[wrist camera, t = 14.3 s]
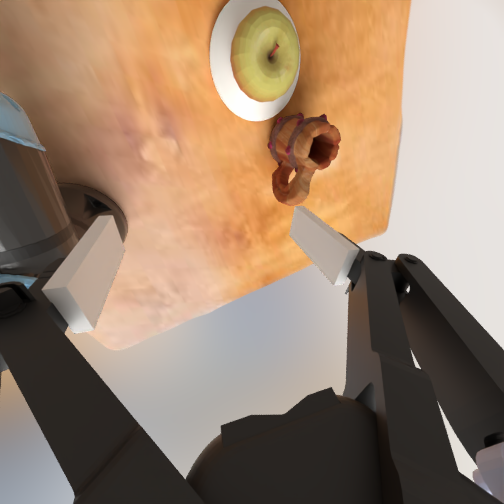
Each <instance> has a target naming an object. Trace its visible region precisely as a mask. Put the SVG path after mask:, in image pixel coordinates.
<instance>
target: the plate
mask: <svg viewBox="0 0 504 504" xmlns="http://www.w3.org/2000/svg"><path fill="white" fill-rule="evenodd" d="M263 6H268V7H272V8H275V9H278V10H279V11H281V12H282V13H283V14H284V15H285V16H286V17H287V18H288V19H289V20H290V21H291V23H292V25H293V27H294V29H295V32H296V34H297V31H296V28H295V26H294V23H293V21H292V19H291V17H290V15H289V13H288V12H287V10H286V9H285V7H284V6H283V5H282V4H281V3H280V2H279V1H278V0H230V1H229V2H228V3H227V4H226V5H225V6H224V8H223V9H222V11H221V12H220V14H219V16H218V18H217V20H216V23H215V25H214V28H213V31H212V36H211V41H210V54H209V59H210V69H211V74H212V78H213V82H214V85H215V87H216V90H217V92H218V94H219V96H220V98H221V99H222V101H223V102H224V104H225V105H226V106H227V107H228V108H229V109H230V110H231V111H232V112H233V113H234V114H236V115H237V116H239V117H241V118H243V119H246V120H249V121H263V120H267V119H269V118H271V117H273V116H275V115H276V114H278V113H279V112H280V111H281V110H282V109H283V108H284V107H285V106H286V104H287V103H288V101H289V100H290V98H291V96H292V94H293V92H294V90H295V87H296V84H297V80H298V76H299V70H300V54H299V66H298V70H297V73H296V76H295V79H294V82H293V84H292V85H291V87H290V88H289V89H288V91H287V92H286V93H285V94H284V95H282V96H281V97H279V98H278V99H276V100H274V101H270V102H258V101H255V100H253V99H250V98H249V97H248V96H247V95H245V94H244V93H243V92H242V91H241V90H240V88H239V86H238V84H237V82H236V80H235V78H234V76H233V72H232V67H231V62H230V56H231V43H232V40H233V38H234V35H235V32H236V30H237V27H238V25H239V23H240V22H241V21H242V20H243V19H244V18H245V17H246V16H247V15H248V14H249V13H250V12H251V10H253V9H256V8H260V7H263ZM297 37H298V35H297ZM298 43H299V39H298ZM299 49H300V46H299Z"/></svg>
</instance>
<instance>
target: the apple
mask: <svg viewBox="0 0 504 504" xmlns="http://www.w3.org/2000/svg"><path fill="white" fill-rule="evenodd" d="M299 54H300V49H299V43H298V37H297V34H296V32H295V29H294V27H293V25H292V23H291V21H290V20H289V19H288V18H287V17H286V16H285V15H284V14H283V13H282V12H281V11H279V10H278V9H275V8H272V7H268V6H263V7H260V8H256V9H253V10H251V12H250V13H249V14H248V15H247V16H246V17H245V18H244V19H243V20H242V21H241V22H240V23H239V25H238V27H237V30H236V32H235V35H234V38H233V40H232V43H231V56H230V62H231V67H232V72H233V76H234V78H235V80H236V82H237V84H238V86H239V88H240V90H241V91H242V92H243V93H244V94H245V95H247V96H248V97H249V98H250V99H253V100H255V101H258V102H270V101H274V100H276V99H278V98H279V97H281V96H282V95H284V94H285V93H286V92H287V91H288V89H289V88H290V87H291V85H292V84H293V82H294V79H295V76H296V73H297V70H298V66H299Z"/></svg>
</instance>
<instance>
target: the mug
mask: <svg viewBox="0 0 504 504" xmlns="http://www.w3.org/2000/svg"><path fill="white" fill-rule="evenodd" d="M340 141H341V137H340V133H339V131H338V129H337V128H336V127H335V126H334V125H330V123H329V122H328V121H327V116H326V115H325V114H323V115H321V116H320V117H310V118H306V119H304V116H303V114H302V113H299V114H298V115H293V116H287V117H285V118H282V117H280V118H278V120H277V124H276V125H275V127H274V129H273V131H272V133H271V137H270V141H269V143H268V148H269V149H270V151H271V155H272V157H273V159H274V160H276V161H277V162H278V166H279V168H278V169H277V170H275V171H274V173H273V174H272V186H273V193H274V195H275V197H276V199H277V200H278V201H279V202H281V203H283V204H286V205H289V206H294V205H298V204H300V203H302V202H303V201H304V200H305V199H306V198H307V196H308V194H309V187H310V181H311V178H312V176H313V174H314V172H315V170H316V169H318V170H322V169H325V168H326V167H328V166H329V165H330V163H331V161H332V160H334V159H335V158H336V156H337V154H338V149H339V145H338V143H339V142H340ZM294 168H295V172H296V175H295V177H294V178H293V180H292V181H291V182H290V183H289V184H288V179H289V175H290V173H291V172H292V170H293V169H294Z"/></svg>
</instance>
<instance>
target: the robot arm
mask: <svg viewBox="0 0 504 504" xmlns="http://www.w3.org/2000/svg"><path fill="white" fill-rule="evenodd" d="M44 151H46V149H45V147H44V146H43V145H41V144H40V142H39V140H38V137H37V135H36V133H35V131H34V129H33V127H32V124H31V122H30V120H29V118H28V116H27V114H26V112H25V111H24V109H23V108H22V107H21V106H20V105H19V104H18V103H17V102H16V101H14V100H13V99H12V98H10V97H9V96H7V95H5V94H3V93H2V92H0V387H1V372H2V371H5V370H7V369H9V370H10V372H11V373H12V375H13V377H14V379H15V381H16V383H17V385H18V387H19V388H20V390H21V392H22V394H23V396H24V398H25V400H26V402H27V404H28V406H29V407H30V409H31V411H32V413H33V415H34V417H35V419H36V420H37V422H38V424H39V426H40V428H41V430H42V432H43V434H44V436H45V438H46V440H47V441H48V443H49V445H50V447H51V449H52V451H53V452H54V454H55V456H56V458H57V460H58V462H59V464H60V466H61V468H62V470H63V472H64V474H65V475H66V477H67V479H68V481H69V483H70V485H71V487H72V489H73V491H74V495H75V499H74V502H73V504H504V350H503V349H502V348H501V347H500V345H499V344H498V343H497V342H496V341H495V340H494V339H493V338H492V337H491V336H490V335H489V333H488V332H487V331H486V330H485V329H484V328H483V327H482V326H481V325H480V324H479V323H478V322H477V320H476V319H475V318H474V317H473V316H472V315H471V314H470V313H469V312H468V311H467V310H466V308H465V307H464V306H463V305H462V304H461V303H460V302H459V301H458V300H457V299H456V298H455V296H454V295H453V294H452V293H451V292H450V291H449V290H448V289H447V288H446V287H445V286H444V285H443V283H442V282H441V281H440V280H439V279H438V278H437V277H436V276H435V275H434V274H433V273H432V271H431V270H430V269H429V268H428V267H427V266H426V265H425V264H424V263H423V262H422V261H421V260H420V259H418V258H417V257H415V256H412V255H410V254H409V255H408V254H399V256H398V257H397V259H396V260H388V259H387V258H386V257H385V256H384V255H382V254H380V253H377V252H374V251H364V250H363V249H361V248H360V247H359V246H358V245H356V244H355V243H354V242H352V241H351V240H350V239H348V238H347V237H346V236H344V235H343V234H341V233H339V232H337V231H335V230H334V229H333V228H332V227H330V226H329V225H328V224H326V223H325V222H324V221H322V220H321V219H320V218H318V217H317V216H316V215H315V214H313V213H312V212H311V211H309V210H308V209H307V208H305V207H304V206H295V209H294V214H293V219H292V224H291V229H290V234H289V236H290V237H291V238H292V239H293V240H294V241H295V242H296V244H297V245H298V246H299V247H300V248H301V249H302V250H303V251H304V253H305V254H306V255H307V256H308V257H309V258H310V259H311V261H312V262H313V263H314V264H315V265H316V266H317V267H318V268H319V270H320V271H321V272H322V273H323V274H324V275H325V276H326V278H328V280H329V281H330V282H331V283H332V284H333V285H334V286H337V285H342V284H344V283H345V281H346V278H347V277H348V278H349V279H350V280H351V282H350V284H349V287H348V288H347V290H346V292H345V294H347V293H348V292H349V302H348V333H347V334H348V336H347V365H346V366H347V367H346V385H345V390H344V393H343V396H340V395H336V394H335V393H334V391H333V389H332V387H331V388H328V389H324V390H322V391H319V392H316V393H313V394H310V395H308V396H306V397H305V398H304V399H303V400H301V401H300V402H299V403H298V404H296V405H295V406H294V407H293V408H292V409H290V410H289V411H288V412H287V413H285V414H282V415H250V416H247V417H245V418H241V419H239V420H236V421H233V422H230V423H227V424H224V425H221V434H220V435H219V436H217V437H216V438H215V439H214V440H213V441H211V442H210V444H208V446H207V447H206V448H205V449H204V450H203V451H202V453H201V454H200V455H199V457H198V458H197V460H196V461H195V463H194V464H193V466H192V468H191V470H190V472H189V473H188V475H187V477H186V480H185V479H184V477H183V476H182V475H181V474H180V473H179V471H178V470H177V469H176V468H175V467H174V465H173V464H172V463H171V462H170V461H169V459H168V458H167V457H166V456H165V454H164V453H163V452H162V451H161V450H160V448H159V447H158V446H157V445H156V444H155V442H154V441H153V440H152V439H151V438H150V436H149V435H148V434H147V433H146V432H145V430H144V429H143V428H142V427H141V426H140V425H139V424H138V422H137V421H136V420H135V419H134V418H133V416H132V415H131V414H130V413H129V412H128V410H127V409H126V408H125V407H124V405H123V404H122V403H121V402H120V401H119V400H118V398H117V397H116V396H115V395H114V393H113V392H112V391H111V390H110V388H109V387H108V386H107V385H106V384H105V383H104V381H103V380H102V379H101V378H100V376H99V375H98V374H97V373H96V372H95V370H94V369H93V368H92V367H91V365H90V364H89V363H88V362H87V361H86V359H85V358H84V357H83V356H82V355H81V354H80V352H79V351H78V350H77V349H76V348H75V346H74V345H73V344H72V343H71V342H70V340H69V339H68V338H67V337H66V335H65V334H64V333H65V331H66V329H67V327H68V326H69V328H70V329H71V330H72V332H73V333H74V334H76V333H81V332H86V331H92V330H94V329H95V327H96V324H97V321H98V319H99V316H100V314H101V311H102V309H103V306H104V304H105V301H106V298H107V296H108V293H109V291H110V288H111V286H112V283H113V281H114V278H115V276H116V273H117V270H118V268H119V265H120V263H121V260H122V258H123V255H124V253H125V248H124V246H123V243H124V241H125V239H126V236H127V232H128V226H127V221H126V218H125V216H124V214H123V212H122V211H121V210H120V208H119V207H118V206H117V205H116V204H115V203H114V202H113V201H112V200H111V199H109V198H108V197H107V196H105V195H104V194H102V193H100V192H98V191H96V190H94V189H91V188H89V187H86V186H82V185H77V184H70V183H59V184H57V182H56V180H55V177H54V175H53V172H52V170H51V167H50V164H49V162H48V159H47V157H46V154H45V152H44ZM409 285H410V291H409V293H408V292H407V291H406V289H407V288H408V286H409ZM410 348H411V349H410ZM411 350H412V352H413V354H414V356H415V358H416V360H417V362H418V364H419V366H420V367H421V369H419V368H416V367H415V364H414V361H413V357H412V354H411ZM437 401H438V402H439V405H440V406H441V408H442V410H443V412H444V414H445V416H446V418H447V420H448V421H449V423H450V425H451V427H452V429H453V430H454V432H455V434H456V435H457V437H458V438H459V440H460V442H461V443H462V445H463V446H464V448H465V449H466V451H467V452H468V454H469V455H470V457H471V458H472V459H473V461H474V462H475V463H476V465H477V467H478V469H476V470H475V471H473V479H474V481H475V483H474V482H473V481H471V480H470V479H469V478H467V477H466V476H464V475H463V474H461V473H460V472H459V471H458V468H457V465H456V461H455V458H454V455H453V452H452V448H451V445H450V442H449V438H448V435H447V431H446V428H445V425H444V422H443V418H442V415H441V412H440V408H439V405H438V402H437Z"/></svg>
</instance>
